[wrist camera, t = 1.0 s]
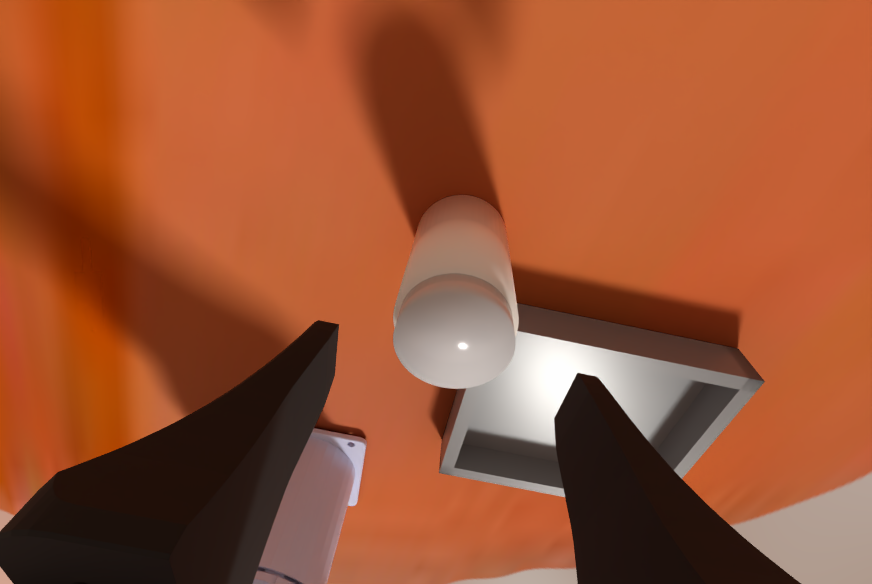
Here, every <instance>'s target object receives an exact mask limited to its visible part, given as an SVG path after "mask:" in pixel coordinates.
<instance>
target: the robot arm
mask: <svg viewBox="0 0 872 584" xmlns="http://www.w3.org/2000/svg"><path fill="white" fill-rule="evenodd" d="M338 329H339V324H334V323H329V322H324V321H319V320H318V321H316V322H315V323H313V324H312V325H311V326H310V327H309V328H308V329H307V330H306V331H305V332H304V333H303V334H302V335H301V336H299V337H298V338H297V339H296V340H295V341H294V342H293V343H292V344H290V345H289V346H288V347H287V348H286V349H285V350H283V351H282V352H281V353H280V354H278V355H277V356H276V357H275V358H274V359H272V360H271V361H270V362H269V363H267V364H266V365H265V366H264V367H262V368H261V369H259V370H258V371H257V372H255V373H254V374H253V375H251V376H250V377H249V378H247V379H246V380H244V381H243V382H242V383H240V384H239V385H237V386H236V387H234V388H233V389H231V390H230V391H228V392H227V393H225V394H224V395H222V396H221V397H219V398H217V399H216V400H214V401H212V402H211V403H209V404H207V405H206V406H204V407H202V408H200V409H199V410H197V411H195V412H193V413H192V414H190V415H188V416H186V417H184V418H183V419H181V420H179V421H177V422H175V423H173V424H171V425H169V426H167V427H165V428H163V429H161V430H159V431H157V432H155V433H152V434H150V435H148V436H146V437H144V438H142V439H140V440H138V441H135V442H133V443H131V444H129V445H126V446H124V447H122V448H119V449H117V450H114V451H112V452H110V453H107V454H104V455H102V456H99V457H97V458H94V459H91V460H89V461H86V462H84V463H81V464H78V465H76V466H73V467H71V468H68V469H65V470H62V471H60V472H58V473H56V474H55V475H54V476H53V477H52V478H51V479H50V480H49V481H48V482H47V483H46V484H45V485H44V486H43V487H42V488H40V489H39V490H38V491H37V492H36V494H35V495H34V496H33V497H32V498H31V499H30V500H29V501H28V502H27V503H26V504H25V505H24V506H23V507H22V509H21V510H20V511H19V512H18V513H17V514H16V515H15V516H14V517H13V518H12V520H10V522H9V523H8V524H7V525H6V526H5V527H4V528H3V529H2V530H1V531H0V567H1V568H2V569H3V571H4V572H5V573H6V575H7V576H8V577H9V578H10V580H11V581H12V582H13V583H14V584H327V581H328V577H329V573H330V569H331V566H332V562H333V558H334V554H335V551H336V547H337V543H338V540H339V536H340V532H341V528H342V525H343V521H344V517H345V513H346V510H347V506H355V505H356V504H357V501H358V495H359V489H360V482H361V476H362V470H363V463H364V457H365V451H366V444H367V442H366V440H365V439H364V438H362V437H357V436H352V435H347V434H342V433H337V432H331V431H326V430H321V429H316V428H314V427H315V425H316V423H317V420H318V418H319V416H320V414H321V412H322V410H323V408H324V405H325V402H326V400H327V397H328V394H329V391H330V388H331V385H332V382H333V379H334V376H335V366H336V353H337V341H338ZM554 426H555V442H556V452H557V458H558V463H559V468H560V473H561V479H562V483H563V488H564V493H565V498H566V503H567V508H568V513H569V518H570V523H571V529H572V535H573V541H574V550H575V560H576V570H577V580H578V584H801V583H799V582H798V581H797V580H795V579H794V578H793V577H792V576H790V575H789V574H788V573H786V572H785V571H784V570H783V569H781V568H780V567H779V566H778V565H776V564H775V563H774V562H773V561H771V560H770V559H769V558H768V557H766V556H765V555H764V554H763V553H761V552H760V551H759V550H758V549H757V548H755V547H754V546H753V545H752V544H751V543H749V542H748V541H747V540H746V539H745V538H743V537H742V536H741V535H740V534H739V533H738V532H737V531H736V530H735V529H733V528H732V527H731V526H730V525H729V524H728V523H727V522H726V521H724V520H723V519H722V518H721V517H720V516H719V515H718V514H717V513H716V512H715V511H714V510H712V509H711V508H710V507H709V506H708V505H707V504H706V503H705V502H704V501H703V500H702V499H701V498H700V497H699V496H698V495H697V494H696V493H695V492H694V491H693V490H692V489H691V488H690V487H689V486H688V485H687V484H686V483H685V482H684V481H683V480H682V479H681V478H680V477H679V475H678V474H677V473H676V472H675V471H674V470H673V469H672V468H671V467H670V466H669V464H668V463H667V462H666V461H665V460H664V459H663V458H662V457H661V455H660V454H659V453H658V452H657V451H656V450H655V449H654V447H653V446H652V445H651V444H650V443H649V441H648V440H647V439H646V438H645V437H644V435H643V434H642V433H641V432H640V430H639V429H638V428H637V427H636V425H635V424H634V423H633V422H632V420H631V419H630V418H629V416H628V415H627V414H626V413H625V411H624V410H623V409H622V407H621V406H620V405H619V404H618V402H617V401H616V400H615V398H614V397H613V396H612V394H611V393H610V392H609V391H608V389H607V388H606V387H605V385H604V384H603V383H602V382H601V380H600V379H599V378H598V377H596V376H591V375H586V374H581V373H577V375H576V377H575V379H574V380H573V382H572V384H571V386H570V388H569V390H568V392H567V394H566V396H565V398H564V400H563V402H562V404H561V406H560V408H559V410H558V412H557V414H556V416H555V418H554Z"/></svg>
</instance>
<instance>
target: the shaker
mask: <svg viewBox="0 0 872 584" xmlns="http://www.w3.org/2000/svg"><path fill="white" fill-rule="evenodd" d="M393 320H394V327H395V329H394V335H393V342H394V348H395V352H396V354H397V356H398V358H399V360H400V362H401V363H402V364H403V366H404V367H405V368H406V369H407V370H408V371H409V372H410V373H412V374H413V375H414V376H416V377H417V378H419V379H421V380H422V381H425V382H427V383H429V384H432V385H435V386H439V387H443V388H452V389H463V388H471V387H475V386H479V385H482V384H484V383H487V382H489V381H491V380H492V379H494V378H496V377H497V376H498V375H500V374H501V373H502V372H503V371H504V370H505V369H506V368H507V366H508V365H509V363H510V362H511V360H512V358H513V355H514V352H515V345H516V342H515V336H516V334H517V330H518V324H519V316H518V308H517V302H516V295H515V288H514V281H513V274H512V267H511V260H510V253H509V246H508V239H507V232H506V227H505V224H504V221H503V219H502V217H501V215H500V214H499V213H498V211H497V210H496V209H495V208H494V207H493V206H492V205H490V204H489V203H488V202H486V201H484V200H482V199H480V198H478V197H474V196H469V195H453V196H449V197H446V198H443V199H441V200H439V201H437V202H436V203H434V204H433V205H431V206H430V207H429V208H428V209H427V210H426V212H425V213H424V214H423V216H422V218H421V220H420V222H419V225H418V228H417V232H416V235H415V239H414V242H413V245H412V249H411V252H410V256H409V259H408V262H407V266H406V269H405V273H404V276H403V280H402V283H401V286H400V290H399V293H398V297H397V300H396V304H395V307H394V314H393Z"/></svg>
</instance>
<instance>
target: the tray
mask: <svg viewBox="0 0 872 584" xmlns="http://www.w3.org/2000/svg"><path fill="white" fill-rule="evenodd" d="M517 308H518V316H519V324H518V330H517V334H516V336H515V342H516V345H515V352H514V355H513V358H512V360H511V362H510V363H509V365H508V366H507V368H506V369H505V370H504V371H503V372H502V373H501V374H500V375H498V376H497V377H496V378H494V379H492V380H491V381H489V382H487V383H484V384H482V385H479V386H475V387H471V388H463V389H457V392H456V396H455V399H454V402H453V405H452V409H451V412H450V415H449V418H448V422H447V425H446V428H445V431H444V435H443V438H442V444H441V455H440V467H439V473H442V474H447V475H453V476H458V477H463V478H468V479H473V480H479V481H484V482H489V483H494V484H499V485H505V486H510V487H515V488H520V489H526V490H531V491H536V492H541V493H546V494H552V495H557V496H562V497H565V493H564V488H563V483H562V479H561V473H560V468H559V463H558V458H557V452H556V442H555V426H554V418H555V416H556V414H557V412H558V410H559V408H560V406H561V404H562V402H563V400H564V398H565V396H566V394H567V392H568V390H569V388H570V386H571V384H572V382H573V380H574V379H575V377H576V375H577V373H581V374H586V375H591V376H596V377H598V378H599V379H600V380H601V382H602V383H603V384H604V385H605V387H606V388H607V389H608V391H609V392H610V393H611V394H612V396H613V397H614V398H615V400H616V401H617V402H618V404H619V405H620V406H621V407H622V409H623V410H624V411H625V413H626V414H627V415H628V416H629V418H630V419H631V420H632V422H633V423H634V424H635V425H636V427H637V428H638V429H639V430H640V432H641V433H642V434H643V435H644V437H645V438H646V439H647V440H648V441H649V443H650V444H651V445H652V446H653V447H654V449H655V450H656V451H657V452H658V453H659V454H660V455H661V457H662V458H663V459H664V460H665V461H666V462H667V463H668V464H669V466H670V467H671V468H672V469H673V470H674V471H675V472H676V473H677V474H678V475H679V477H680V478H681V479H682V478H683V477H684V476H685V474H686V473H687V472H688V471H689V470H690V469H691V467H692V466H693V465H694V464H695V463H696V462H697V460H698V459H699V458H700V457H701V456H702V455H703V453H704V452H705V451H706V450H707V449H708V447H709V446H710V445H711V444H712V443H713V442H714V440H715V439H716V438H717V437H718V436H719V435H720V433H721V432H722V431H723V430H724V429H725V428H726V426H727V425H728V424H729V423H730V422H731V421H732V419H733V418H734V417H735V416H736V415H737V413H738V412H739V411H740V410H741V409H742V408H743V406H744V405H745V404H746V403H747V402H748V401H749V399H750V398H751V397H752V396H753V395H754V394H755V392H756V391H757V390H758V389H759V388H760V387H761V385H762V384H763V383H764V382H765V381H764V380H763V379H762V378H761V376H760V375H759V374H758V373H757V371H756V370H755V369H754V368H753V366H752V365H751V364H750V363H749V361H748V360H747V359H746V358H745V356H744V355H743V354H742V353H741V352H740V350H739V349H737V348H732V347H728V346H723V345H718V344H713V343H708V342H703V341H698V340H694V339H689V338H684V337H679V336H674V335H669V334H665V333H660V332H655V331H650V330H645V329H640V328H635V327H631V326H626V325H621V324H616V323H611V322H606V321H602V320H597V319H592V318H587V317H582V316H577V315H572V314H568V313H563V312H558V311H553V310H548V309H543V308H539V307H534V306H529V305H524V304H519V303H517Z"/></svg>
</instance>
